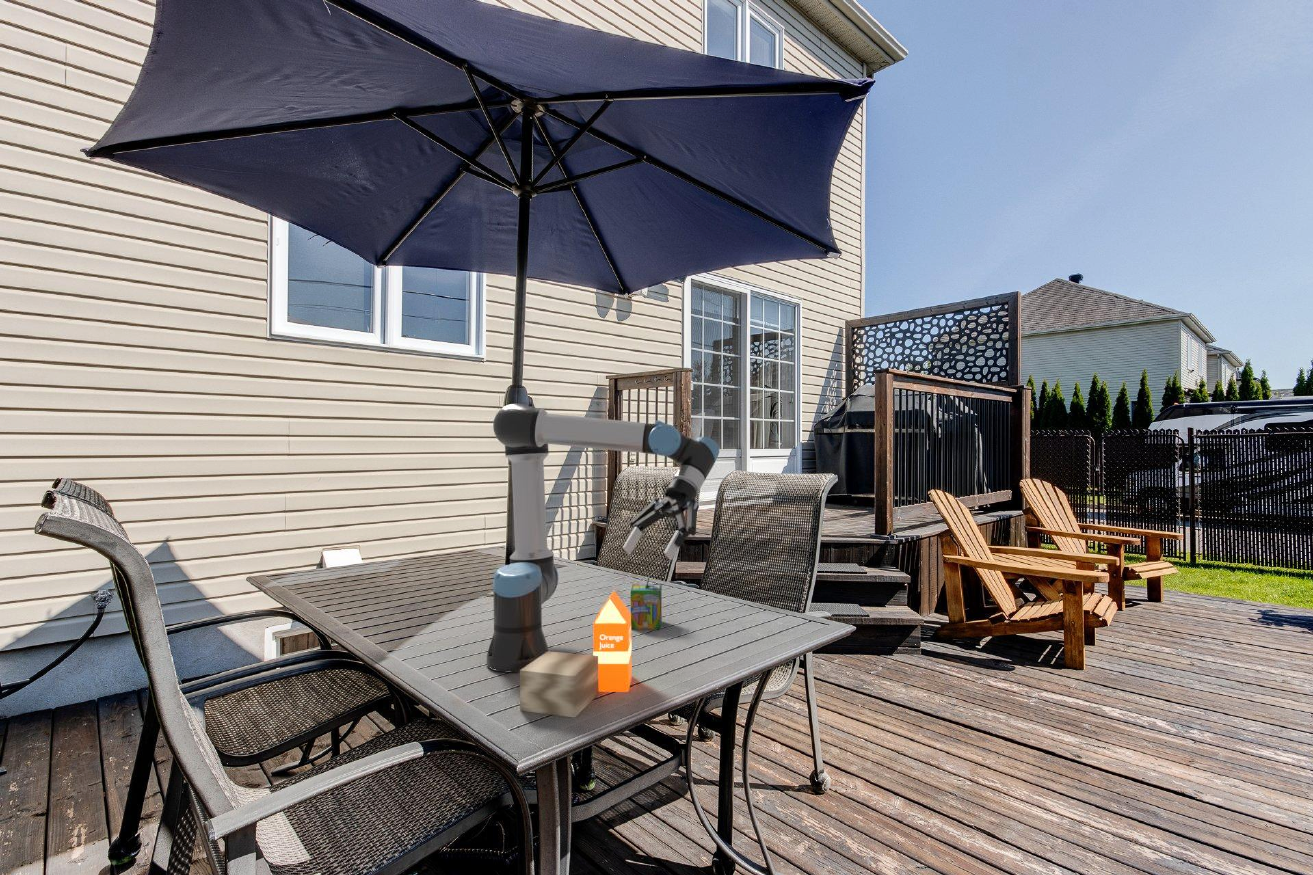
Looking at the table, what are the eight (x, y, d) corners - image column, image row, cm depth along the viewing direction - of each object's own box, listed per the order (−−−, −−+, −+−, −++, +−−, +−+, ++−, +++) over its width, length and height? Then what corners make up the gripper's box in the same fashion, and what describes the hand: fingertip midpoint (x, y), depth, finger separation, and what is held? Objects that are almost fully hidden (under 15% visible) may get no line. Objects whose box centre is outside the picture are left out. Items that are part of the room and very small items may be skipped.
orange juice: (632, 676, 137) (631, 589, 138) (629, 691, 129) (627, 598, 129) (598, 676, 138) (597, 589, 138) (593, 691, 129) (591, 598, 129)
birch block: (520, 710, 120) (519, 670, 120) (548, 687, 131) (547, 651, 131) (574, 717, 116) (574, 675, 116) (598, 693, 128) (598, 655, 128)
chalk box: (632, 621, 183) (631, 572, 183) (662, 621, 183) (661, 572, 183) (629, 630, 174) (629, 578, 174) (661, 630, 173) (660, 578, 174)
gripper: (730, 498, 148) (694, 568, 136) (656, 495, 165) (618, 557, 153) (717, 477, 144) (678, 548, 133) (642, 476, 161) (602, 539, 149)
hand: (646, 553), depth 143 cm, fingers open, 13 cm apart
